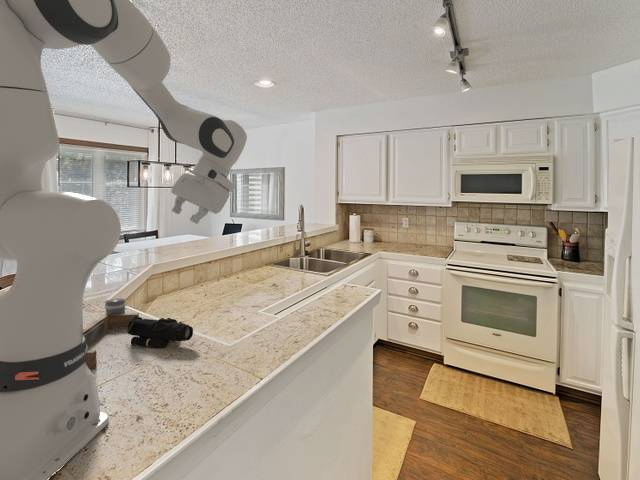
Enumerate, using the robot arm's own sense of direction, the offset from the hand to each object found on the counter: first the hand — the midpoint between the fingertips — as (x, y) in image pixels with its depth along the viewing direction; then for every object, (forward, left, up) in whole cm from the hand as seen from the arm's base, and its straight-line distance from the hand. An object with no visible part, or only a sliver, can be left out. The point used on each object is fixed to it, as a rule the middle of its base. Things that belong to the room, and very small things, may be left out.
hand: (183, 217), depth 90 cm
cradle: (-5, +20, -34) cm, 39 cm away
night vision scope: (-5, +5, -34) cm, 35 cm away
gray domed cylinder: (+12, +23, -34) cm, 43 cm away
